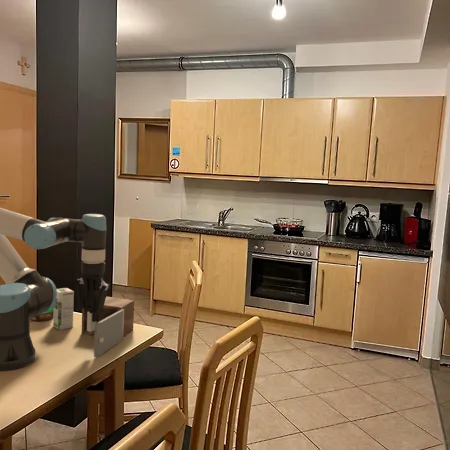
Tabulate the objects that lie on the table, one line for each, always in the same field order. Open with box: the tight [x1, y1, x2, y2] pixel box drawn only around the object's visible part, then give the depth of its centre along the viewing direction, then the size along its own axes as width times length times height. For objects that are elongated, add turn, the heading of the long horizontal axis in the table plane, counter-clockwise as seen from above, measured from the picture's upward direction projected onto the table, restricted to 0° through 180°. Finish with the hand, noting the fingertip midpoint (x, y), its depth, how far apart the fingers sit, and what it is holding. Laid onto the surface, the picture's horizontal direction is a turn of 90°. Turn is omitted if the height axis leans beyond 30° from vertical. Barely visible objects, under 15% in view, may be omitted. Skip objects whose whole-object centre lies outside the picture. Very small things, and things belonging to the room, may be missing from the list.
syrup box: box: [52, 287, 75, 331], centre depth 172 cm, size 6×6×14 cm
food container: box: [30, 304, 54, 323], centre depth 179 cm, size 12×6×10 cm, turn 143°
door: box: [93, 309, 124, 358], centre depth 154 cm, size 17×2×11 cm, turn 163°
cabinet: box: [81, 295, 135, 339], centre depth 170 cm, size 16×10×12 cm, turn 75°
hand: (91, 330), depth 152 cm, fingers closed
